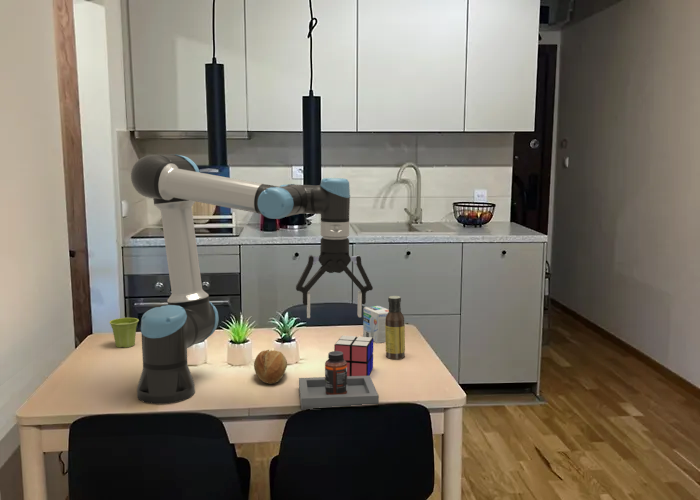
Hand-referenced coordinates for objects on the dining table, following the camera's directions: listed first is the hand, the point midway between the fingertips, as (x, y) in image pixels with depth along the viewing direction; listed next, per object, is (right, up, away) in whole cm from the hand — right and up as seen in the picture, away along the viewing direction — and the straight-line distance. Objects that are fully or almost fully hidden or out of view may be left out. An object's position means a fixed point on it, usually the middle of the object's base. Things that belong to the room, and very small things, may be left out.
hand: (334, 316), depth 179 cm
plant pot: (-72, -15, +50) cm, 89 cm away
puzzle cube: (+5, -19, +23) cm, 30 cm away
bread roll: (-19, -20, +18) cm, 33 cm away
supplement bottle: (+1, -21, +2) cm, 21 cm away
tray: (+1, -22, +2) cm, 22 cm away
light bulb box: (+14, -14, +60) cm, 63 cm away
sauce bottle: (+19, -17, +38) cm, 46 cm away
